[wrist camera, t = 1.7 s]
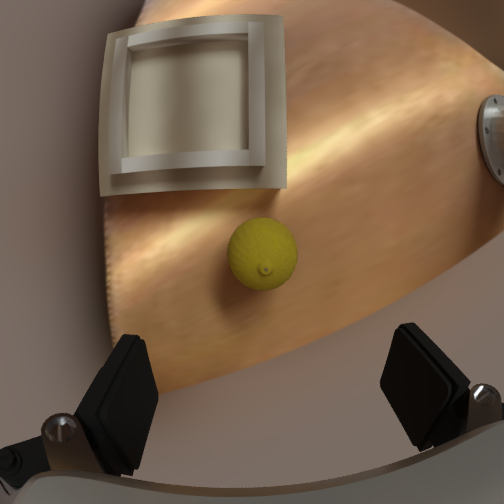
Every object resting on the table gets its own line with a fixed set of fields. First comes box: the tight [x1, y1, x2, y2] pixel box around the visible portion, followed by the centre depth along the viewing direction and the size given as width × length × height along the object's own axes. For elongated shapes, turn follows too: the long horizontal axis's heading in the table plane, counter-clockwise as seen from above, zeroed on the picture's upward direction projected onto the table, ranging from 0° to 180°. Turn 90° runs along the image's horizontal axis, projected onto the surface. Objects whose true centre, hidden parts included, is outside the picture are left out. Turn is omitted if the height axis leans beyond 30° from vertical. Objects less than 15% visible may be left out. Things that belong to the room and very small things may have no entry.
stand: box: [99, 14, 287, 196], centre depth 20 cm, size 16×16×4 cm
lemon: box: [227, 217, 298, 291], centre depth 22 cm, size 6×6×8 cm
